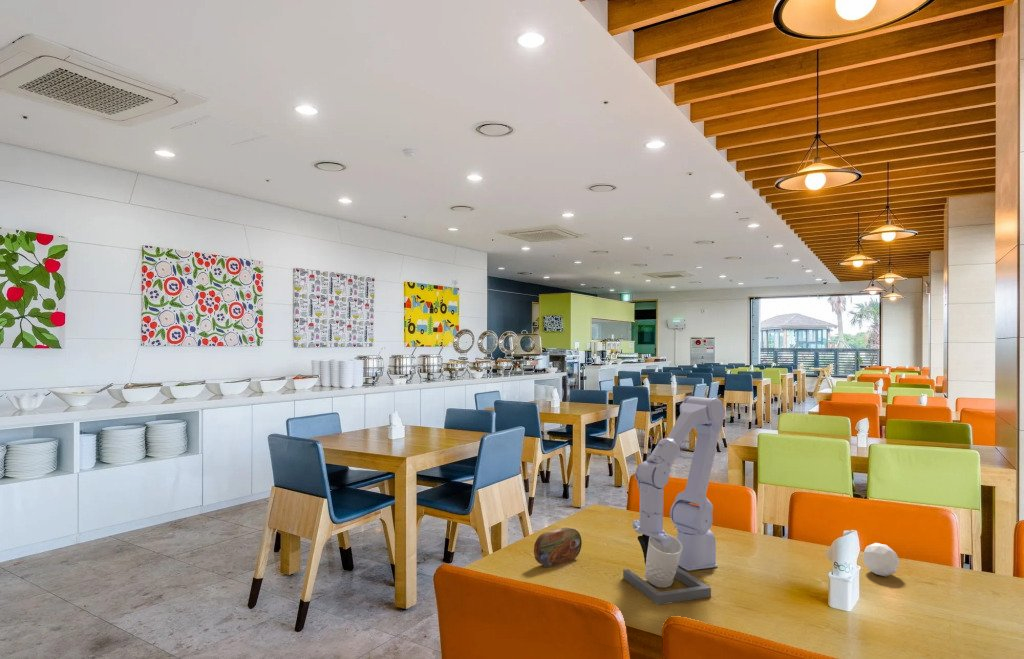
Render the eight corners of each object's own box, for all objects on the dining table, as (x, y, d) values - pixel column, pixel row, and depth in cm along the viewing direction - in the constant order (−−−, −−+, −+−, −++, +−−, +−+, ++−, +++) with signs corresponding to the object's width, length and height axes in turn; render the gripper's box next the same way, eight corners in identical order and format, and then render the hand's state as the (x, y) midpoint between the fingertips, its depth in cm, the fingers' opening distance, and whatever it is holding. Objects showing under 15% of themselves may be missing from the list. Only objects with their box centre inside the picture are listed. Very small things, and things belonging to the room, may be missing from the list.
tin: (539, 570, 146) (539, 537, 147) (531, 566, 149) (531, 534, 149) (582, 557, 155) (582, 526, 156) (574, 554, 158) (574, 523, 158)
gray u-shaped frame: (672, 571, 146) (672, 563, 146) (710, 596, 132) (710, 587, 132) (623, 577, 142) (623, 569, 142) (657, 604, 127) (657, 595, 127)
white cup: (677, 592, 135) (684, 556, 132) (643, 586, 136) (650, 550, 133) (673, 570, 143) (680, 536, 140) (641, 564, 144) (647, 530, 141)
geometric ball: (874, 586, 144) (852, 558, 146) (881, 566, 150) (860, 540, 151) (903, 580, 139) (880, 551, 140) (909, 560, 144) (887, 533, 146)
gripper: (622, 504, 148) (621, 557, 148) (652, 520, 135) (651, 579, 134) (646, 502, 150) (645, 554, 150) (678, 518, 137) (677, 576, 136)
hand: (650, 566), depth 142 cm, fingers closed, pressing on white cup
